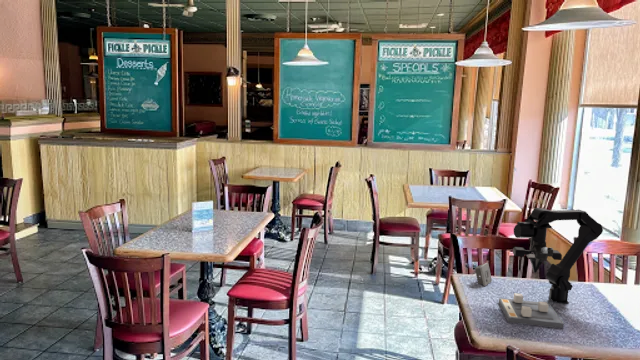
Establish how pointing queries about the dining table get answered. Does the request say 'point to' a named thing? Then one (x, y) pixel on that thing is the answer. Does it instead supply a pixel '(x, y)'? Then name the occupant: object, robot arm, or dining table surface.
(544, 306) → the tab
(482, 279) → the electrical switch
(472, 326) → the dining table surface
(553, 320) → the switch panel
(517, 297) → the beige cube
